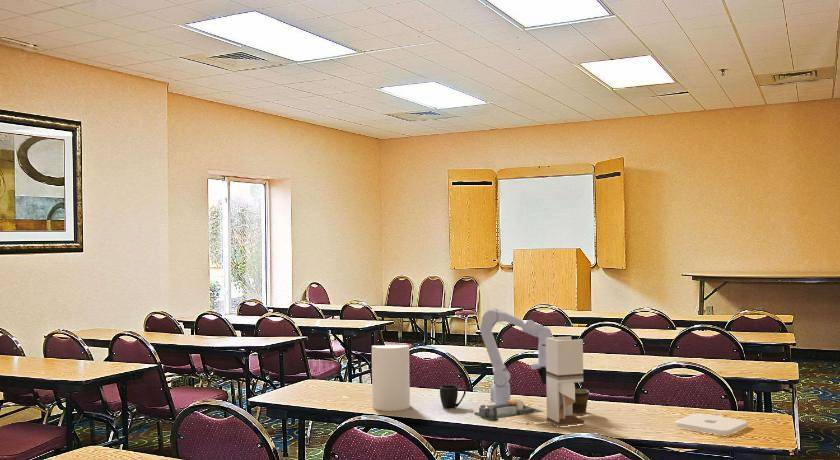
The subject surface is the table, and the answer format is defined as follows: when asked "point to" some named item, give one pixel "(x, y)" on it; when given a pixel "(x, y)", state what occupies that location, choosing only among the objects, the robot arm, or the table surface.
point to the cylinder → (390, 377)
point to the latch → (518, 404)
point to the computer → (711, 423)
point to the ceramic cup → (580, 401)
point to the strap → (499, 406)
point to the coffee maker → (563, 378)
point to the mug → (450, 396)
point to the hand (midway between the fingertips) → (545, 383)
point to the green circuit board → (502, 411)
